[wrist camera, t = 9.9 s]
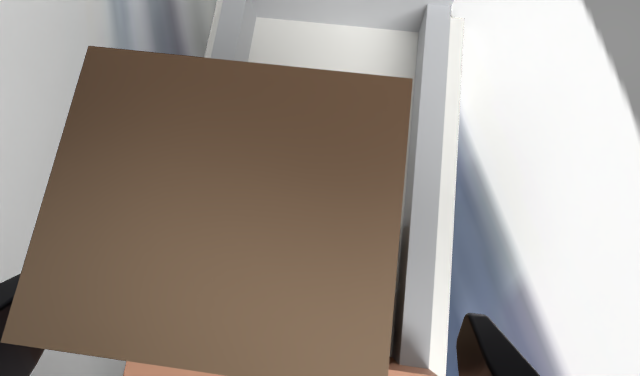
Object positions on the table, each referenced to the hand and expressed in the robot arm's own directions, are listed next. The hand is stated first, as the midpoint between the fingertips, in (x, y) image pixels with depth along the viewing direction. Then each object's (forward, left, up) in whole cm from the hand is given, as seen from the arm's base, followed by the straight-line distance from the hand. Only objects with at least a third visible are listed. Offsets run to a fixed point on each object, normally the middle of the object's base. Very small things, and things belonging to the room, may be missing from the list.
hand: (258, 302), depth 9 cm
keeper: (+1, 0, -8) cm, 8 cm away
